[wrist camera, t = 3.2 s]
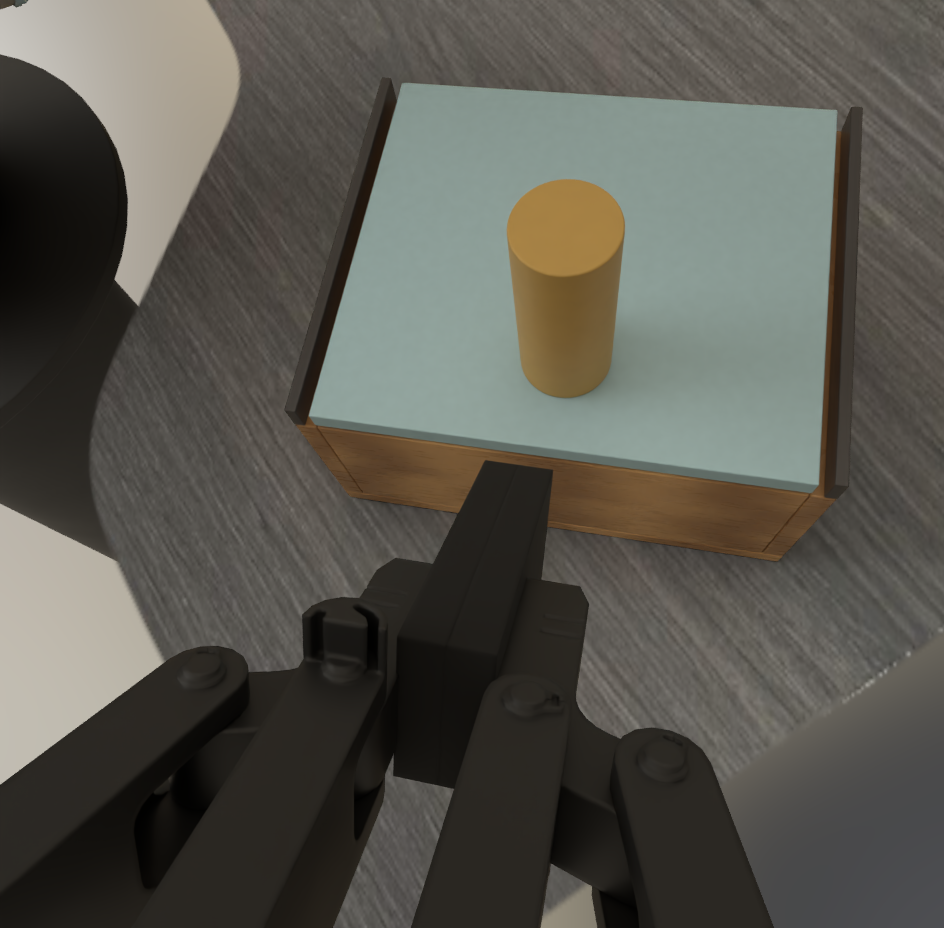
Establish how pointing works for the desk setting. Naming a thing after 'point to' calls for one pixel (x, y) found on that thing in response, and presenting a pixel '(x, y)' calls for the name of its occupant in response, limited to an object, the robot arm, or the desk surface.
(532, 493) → the robot arm
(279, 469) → the desk surface
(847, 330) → the case
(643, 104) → the slide top
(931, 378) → the desk surface
